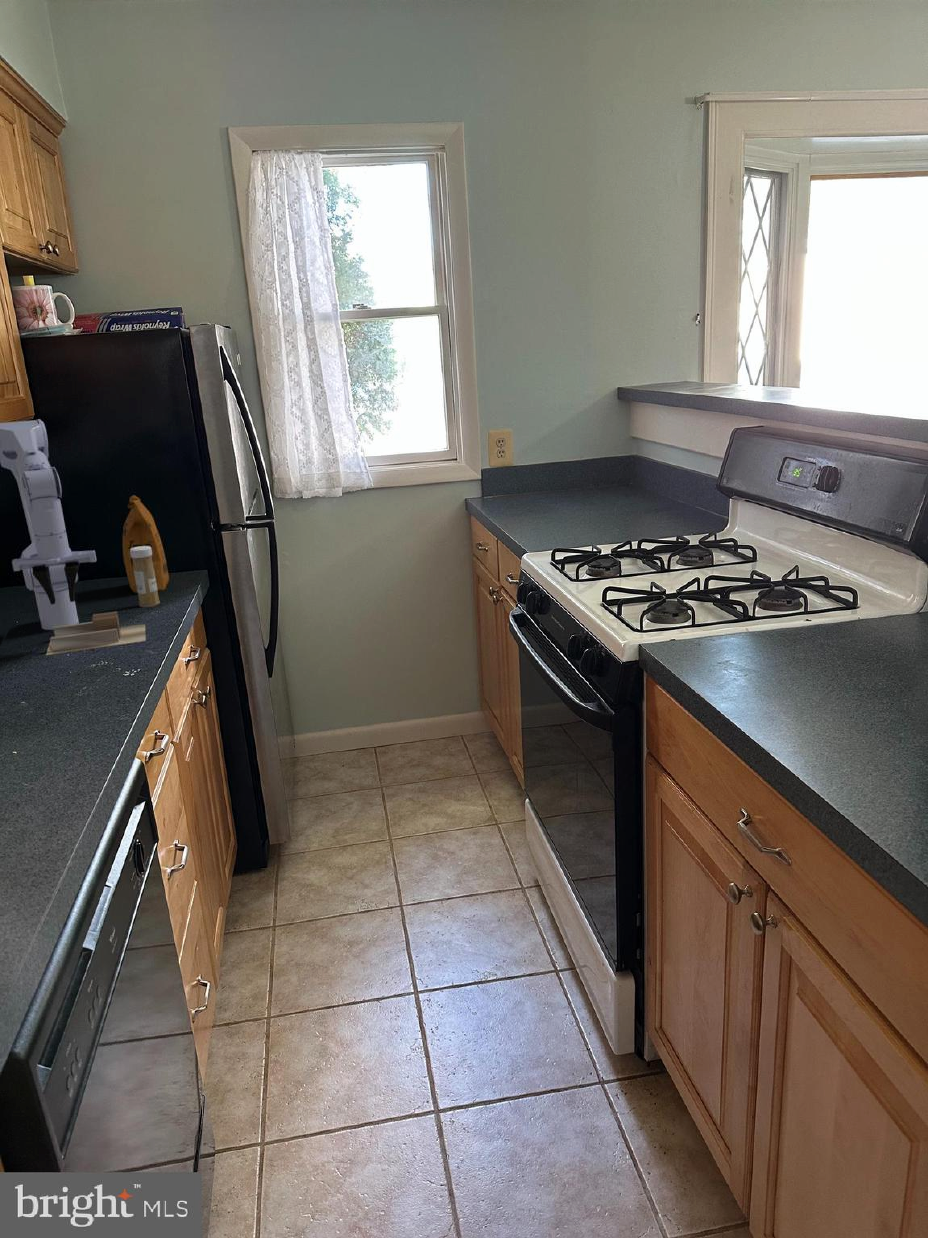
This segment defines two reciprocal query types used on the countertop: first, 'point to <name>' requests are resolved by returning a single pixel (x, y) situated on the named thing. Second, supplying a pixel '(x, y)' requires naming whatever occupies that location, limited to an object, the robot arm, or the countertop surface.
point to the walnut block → (106, 622)
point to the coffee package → (143, 543)
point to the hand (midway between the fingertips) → (62, 601)
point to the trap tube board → (91, 637)
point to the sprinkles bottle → (145, 576)
